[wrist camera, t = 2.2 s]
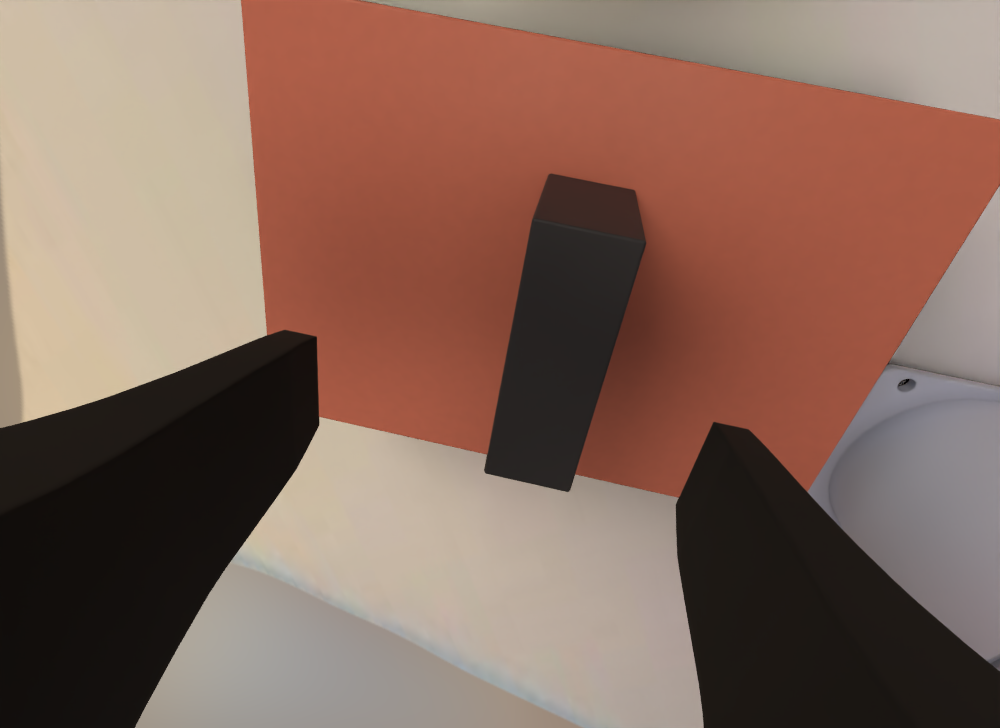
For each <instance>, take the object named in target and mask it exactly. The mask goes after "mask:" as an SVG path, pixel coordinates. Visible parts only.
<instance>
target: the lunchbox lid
mask: <svg viewBox="0 0 1000 728" xmlns="http://www.w3.org/2000/svg"><path fill="white" fill-rule="evenodd" d="M241 5H242V18H243V31H244V43H245V56H246V69H247V82H248V95H249V108H250V121H251V133H252V146H253V159H254V172H255V185H256V198H257V210H258V223H259V236H260V249H261V262H262V275H263V288H264V300H265V313H266V326H267V335H270V334H273V333H276V332H279V331H282V330H289V331H294V332H298V333H303V334H308V335H312V336H317V358H318V395H319V417H323V418H327V419H332V420H336V421H341V422H345V423H350V424H354V425H359V426H363V427H367V428H372V429H376V430H381V431H385V432H390V433H394V434H398V435H403V436H407V437H412V438H416V439H421V440H425V441H430V442H434V443H438V444H443V445H447V446H452V447H456V448H461V449H465V450H470V451H474V452H478V453H483V454H487V459H486V464H485V469H484V471H485V473H486V474H491V475H495V476H500V477H504V478H508V479H513V480H517V481H522V482H526V483H531V484H535V485H539V486H544V487H548V488H553V489H557V490H561V491H566V492H569V491H570V489H571V486H572V483H573V479H574V476H575V474H576V475H581V476H585V477H589V478H594V479H598V480H603V481H607V482H612V483H616V484H621V485H625V486H629V487H634V488H638V489H643V490H647V491H652V492H656V493H660V494H665V495H669V496H674V497H678V498H679V497H680V495H681V492H682V490H683V488H684V486H685V484H686V481H687V479H688V477H689V475H690V473H691V470H692V468H693V466H694V464H695V461H696V459H697V457H698V455H699V453H700V450H701V448H702V446H703V444H704V442H705V439H706V437H707V435H708V433H709V430H710V428H711V426H712V424H713V422H717V423H722V424H726V425H731V426H736V427H740V428H745V429H749V430H750V431H751V432H752V433H753V434H754V435H755V436H756V437H757V438H758V439H759V440H760V441H761V442H762V443H763V444H764V445H765V446H766V447H767V448H768V449H769V450H770V452H771V453H772V454H773V455H774V456H775V457H776V458H777V459H778V460H779V461H780V462H781V464H782V465H783V466H784V467H785V468H786V469H787V470H788V471H789V472H790V473H791V475H792V476H793V477H794V478H795V479H796V480H797V481H798V482H799V483H800V485H801V486H802V487H803V488H804V489H805V490H806V491H807V492H808V490H809V489H810V487H811V485H812V484H813V482H814V481H815V479H816V477H817V476H818V474H819V473H820V471H821V469H822V468H823V466H824V465H825V463H826V461H827V460H828V458H829V457H830V455H831V454H832V452H833V450H834V449H835V447H836V446H837V444H838V442H839V441H840V439H841V438H842V436H843V434H844V433H845V431H846V430H847V428H848V426H849V425H850V423H851V422H852V420H853V418H854V417H855V415H856V414H857V412H858V410H859V409H860V407H861V406H862V404H863V402H864V401H865V399H866V398H867V396H868V394H869V393H870V391H871V390H872V388H873V386H874V385H875V383H876V382H877V380H878V378H879V377H880V375H881V374H882V372H883V370H884V369H885V367H886V366H887V364H888V363H889V361H890V359H891V358H892V356H893V355H894V353H895V351H896V350H897V348H898V347H899V345H900V343H901V342H902V340H903V339H904V337H905V335H906V334H907V332H908V331H909V329H910V327H911V326H912V324H913V323H914V321H915V319H916V318H917V316H918V315H919V313H920V311H921V310H922V308H923V307H924V305H925V303H926V302H927V300H928V299H929V297H930V295H931V294H932V292H933V291H934V289H935V287H936V286H937V284H938V283H939V281H940V279H941V278H942V276H943V275H944V273H945V272H946V270H947V268H948V267H949V265H950V264H951V262H952V260H953V259H954V257H955V256H956V254H957V252H958V251H959V249H960V248H961V246H962V244H963V243H964V241H965V240H966V238H967V236H968V235H969V233H970V232H971V230H972V228H973V227H974V225H975V224H976V222H977V220H978V219H979V217H980V216H981V214H982V212H983V211H984V209H985V208H986V206H987V204H988V203H989V201H990V200H991V198H992V196H993V195H994V193H995V192H996V190H997V188H998V187H999V185H1000V120H999V119H994V118H989V117H983V116H978V115H973V114H967V113H962V112H956V111H951V110H946V109H940V108H935V107H930V106H924V105H919V104H914V103H908V102H903V101H897V100H892V99H887V98H881V97H876V96H871V95H865V94H860V93H854V92H849V91H844V90H838V89H833V88H828V87H822V86H817V85H812V84H806V83H801V82H795V81H790V80H785V79H779V78H774V77H769V76H763V75H758V74H752V73H747V72H742V71H736V70H731V69H726V68H720V67H715V66H710V65H704V64H699V63H693V62H688V61H683V60H677V59H672V58H667V57H661V56H656V55H651V54H645V53H640V52H634V51H629V50H624V49H618V48H613V47H608V46H602V45H597V44H591V43H586V42H581V41H575V40H570V39H565V38H559V37H554V36H549V35H543V34H538V33H532V32H527V31H522V30H516V29H511V28H506V27H500V26H495V25H489V24H484V23H479V22H473V21H468V20H463V19H457V18H452V17H447V16H441V15H436V14H430V13H425V12H420V11H414V10H409V9H404V8H398V7H393V6H387V5H382V4H377V3H371V2H366V1H361V0H241Z"/></svg>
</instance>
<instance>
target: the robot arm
mask: <svg viewBox="0 0 1000 728" xmlns="http://www.w3.org/2000/svg"><path fill="white" fill-rule="evenodd" d="M905 379H910V380H909V381H908V382H907V383H906V384H904V385H902V386H898V384H899V383H900V382H901V381H902V380H905ZM318 426H319V395H318V358H317V336H312V335H308V334H303V333H298V332H294V331H289V330H282V331H279V332H276V333H273V334H270V335H267V336H265V337H262V338H259V339H257V340H254V341H252V342H249V343H247V344H244V345H242V346H239V347H237V348H235V349H232V350H230V351H227V352H225V353H222V354H220V355H218V356H215V357H213V358H210V359H208V360H205V361H203V362H200V363H198V364H195V365H193V366H190V367H188V368H186V369H183V370H181V371H178V372H176V373H173V374H170V375H167V376H165V377H162V378H159V379H156V380H154V381H151V382H148V383H146V384H143V385H140V386H137V387H135V388H132V389H129V390H126V391H124V392H121V393H118V394H115V395H113V396H110V397H107V398H104V399H101V400H98V401H95V402H92V403H88V404H85V405H82V406H79V407H76V408H73V409H69V410H66V411H62V412H59V413H55V414H52V415H48V416H45V417H41V418H38V419H34V420H31V421H27V422H23V423H20V424H16V425H12V426H8V427H4V428H0V728H135V726H136V724H137V722H138V720H139V718H140V716H141V714H142V712H143V710H144V708H145V707H146V705H147V703H148V701H149V699H150V697H151V696H152V694H153V692H154V690H155V688H156V686H157V685H158V683H159V681H160V679H161V677H162V675H163V674H164V672H165V670H166V668H167V666H168V664H169V663H170V661H171V659H172V657H173V655H174V654H175V652H176V650H177V648H178V646H179V645H180V643H181V641H182V639H183V638H184V636H185V634H186V632H187V631H188V629H189V627H190V626H191V624H192V622H193V620H194V619H195V617H196V615H197V613H198V612H199V610H200V608H201V606H202V604H203V602H204V601H205V599H206V598H207V596H208V594H209V593H210V591H211V590H212V588H213V587H214V585H215V584H216V582H217V580H218V579H219V578H220V576H221V574H222V573H223V571H224V570H225V568H226V567H227V566H228V564H229V563H230V562H231V560H232V559H233V557H234V556H235V555H236V553H237V552H238V550H239V549H240V548H241V546H242V545H243V544H244V542H245V541H246V539H247V538H248V537H249V535H250V534H251V532H252V531H253V530H254V528H255V527H256V525H257V524H258V523H259V521H260V520H261V518H262V517H263V516H264V514H265V513H266V512H267V510H268V509H269V507H270V506H271V505H272V503H273V502H274V500H275V499H276V498H277V496H278V495H279V493H280V492H281V490H282V489H283V488H284V486H285V485H286V483H287V482H288V480H289V479H290V478H291V476H292V475H293V473H294V472H295V470H296V469H297V467H298V465H299V463H300V461H301V459H302V458H303V456H304V454H305V452H306V450H307V448H308V446H309V444H310V442H311V440H312V438H313V436H314V434H315V432H316V430H317V428H318ZM676 534H677V556H678V563H679V570H680V576H681V582H682V588H683V594H684V600H685V606H686V612H687V617H688V623H689V629H690V635H691V641H692V646H693V652H694V658H695V664H696V670H697V675H698V681H699V688H700V696H701V703H702V711H703V722H704V728H1000V386H995V385H990V384H985V383H981V382H976V381H971V380H966V379H962V378H957V377H952V376H947V375H942V374H938V373H933V372H928V371H923V370H919V369H914V368H909V367H904V366H899V365H894V364H888V365H887V366H886V367H885V369H884V370H883V372H882V374H881V375H880V377H879V378H878V380H877V382H876V383H875V385H874V386H873V388H872V390H871V391H870V393H869V394H868V396H867V398H866V399H865V401H864V402H863V404H862V406H861V407H860V409H859V410H858V412H857V414H856V415H855V417H854V418H853V420H852V422H851V423H850V425H849V426H848V428H847V430H846V431H845V433H844V434H843V436H842V438H841V439H840V441H839V442H838V444H837V446H836V447H835V449H834V450H833V452H832V454H831V455H830V457H829V458H828V460H827V461H826V463H825V465H824V466H823V468H822V469H821V471H820V473H819V474H818V476H817V477H816V479H815V481H814V482H813V484H812V485H811V487H810V489H809V490H808V492H807V491H806V490H805V489H804V488H803V487H802V486H801V485H800V483H799V482H798V481H797V480H796V479H795V478H794V477H793V476H792V475H791V473H790V472H789V471H788V470H787V469H786V468H785V467H784V466H783V465H782V464H781V462H780V461H779V460H778V459H777V458H776V457H775V456H774V455H773V454H772V453H771V452H770V450H769V449H768V448H767V447H766V446H765V445H764V444H763V443H762V442H761V441H760V440H759V439H758V438H757V437H756V436H755V435H754V434H753V433H752V432H751V431H750V430H749V429H745V428H740V427H736V426H731V425H726V424H722V423H717V422H713V424H712V426H711V428H710V430H709V433H708V435H707V437H706V439H705V442H704V444H703V446H702V448H701V450H700V453H699V455H698V457H697V459H696V461H695V464H694V466H693V468H692V470H691V473H690V475H689V477H688V479H687V481H686V484H685V486H684V488H683V490H682V492H681V495H680V497H679V499H678V501H677V503H676Z"/></svg>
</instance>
